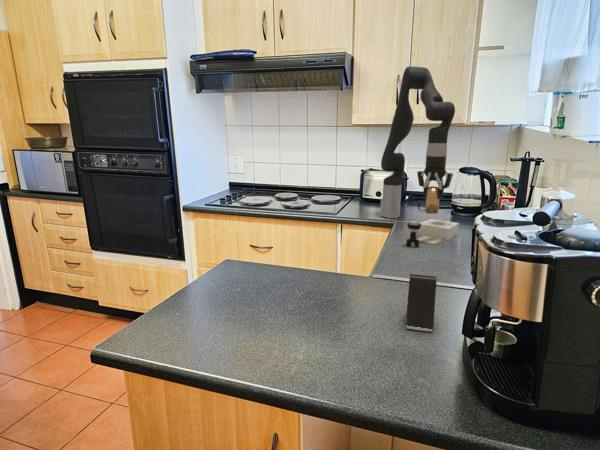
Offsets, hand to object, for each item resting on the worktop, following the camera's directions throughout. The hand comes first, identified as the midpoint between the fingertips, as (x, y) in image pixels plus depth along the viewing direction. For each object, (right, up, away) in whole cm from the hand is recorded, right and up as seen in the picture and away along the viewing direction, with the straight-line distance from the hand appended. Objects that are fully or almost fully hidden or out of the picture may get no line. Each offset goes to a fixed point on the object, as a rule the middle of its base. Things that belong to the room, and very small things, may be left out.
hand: (432, 197), depth 156 cm
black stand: (-9, -20, -2) cm, 22 cm away
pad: (0, -18, +4) cm, 18 cm away
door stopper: (-25, -35, -63) cm, 76 cm away
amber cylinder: (0, -6, +1) cm, 6 cm away
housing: (+7, -15, +15) cm, 23 cm away
